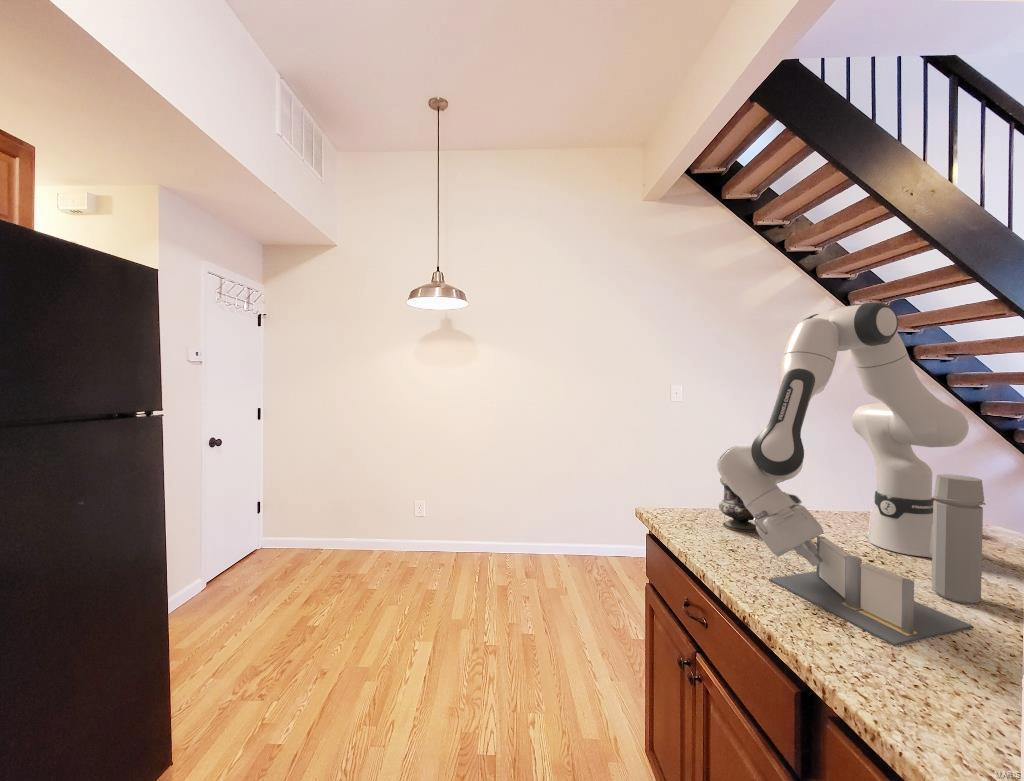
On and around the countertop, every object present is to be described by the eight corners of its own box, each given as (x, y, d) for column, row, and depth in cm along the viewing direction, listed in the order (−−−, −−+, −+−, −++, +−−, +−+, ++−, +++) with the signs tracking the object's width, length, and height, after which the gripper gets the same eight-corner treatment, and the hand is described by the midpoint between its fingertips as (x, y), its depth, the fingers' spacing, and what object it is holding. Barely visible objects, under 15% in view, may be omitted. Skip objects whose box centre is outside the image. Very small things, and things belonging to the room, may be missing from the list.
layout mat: (835, 569, 102) (835, 567, 102) (973, 627, 78) (973, 624, 78) (768, 580, 97) (768, 578, 97) (894, 646, 72) (894, 643, 72)
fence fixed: (851, 604, 86) (852, 554, 86) (917, 635, 75) (918, 579, 75) (842, 605, 86) (843, 556, 85) (907, 638, 75) (908, 581, 75)
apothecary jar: (770, 528, 131) (771, 470, 130) (750, 536, 124) (750, 474, 124) (732, 518, 141) (732, 463, 140) (710, 525, 134) (711, 467, 134)
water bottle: (986, 610, 84) (988, 483, 83) (930, 597, 89) (932, 477, 89) (980, 593, 91) (982, 475, 90) (928, 581, 96) (930, 470, 96)
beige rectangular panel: (822, 575, 98) (823, 536, 97) (852, 599, 86) (853, 556, 86) (815, 574, 98) (815, 536, 98) (843, 599, 87) (844, 555, 86)
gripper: (761, 508, 94) (811, 569, 86) (800, 494, 106) (847, 546, 98) (739, 523, 97) (786, 582, 90) (780, 508, 109) (824, 559, 102)
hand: (819, 563), depth 94 cm, fingers closed
